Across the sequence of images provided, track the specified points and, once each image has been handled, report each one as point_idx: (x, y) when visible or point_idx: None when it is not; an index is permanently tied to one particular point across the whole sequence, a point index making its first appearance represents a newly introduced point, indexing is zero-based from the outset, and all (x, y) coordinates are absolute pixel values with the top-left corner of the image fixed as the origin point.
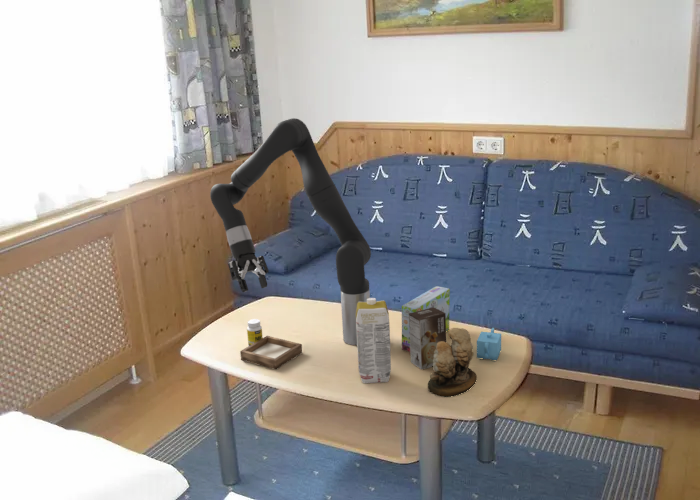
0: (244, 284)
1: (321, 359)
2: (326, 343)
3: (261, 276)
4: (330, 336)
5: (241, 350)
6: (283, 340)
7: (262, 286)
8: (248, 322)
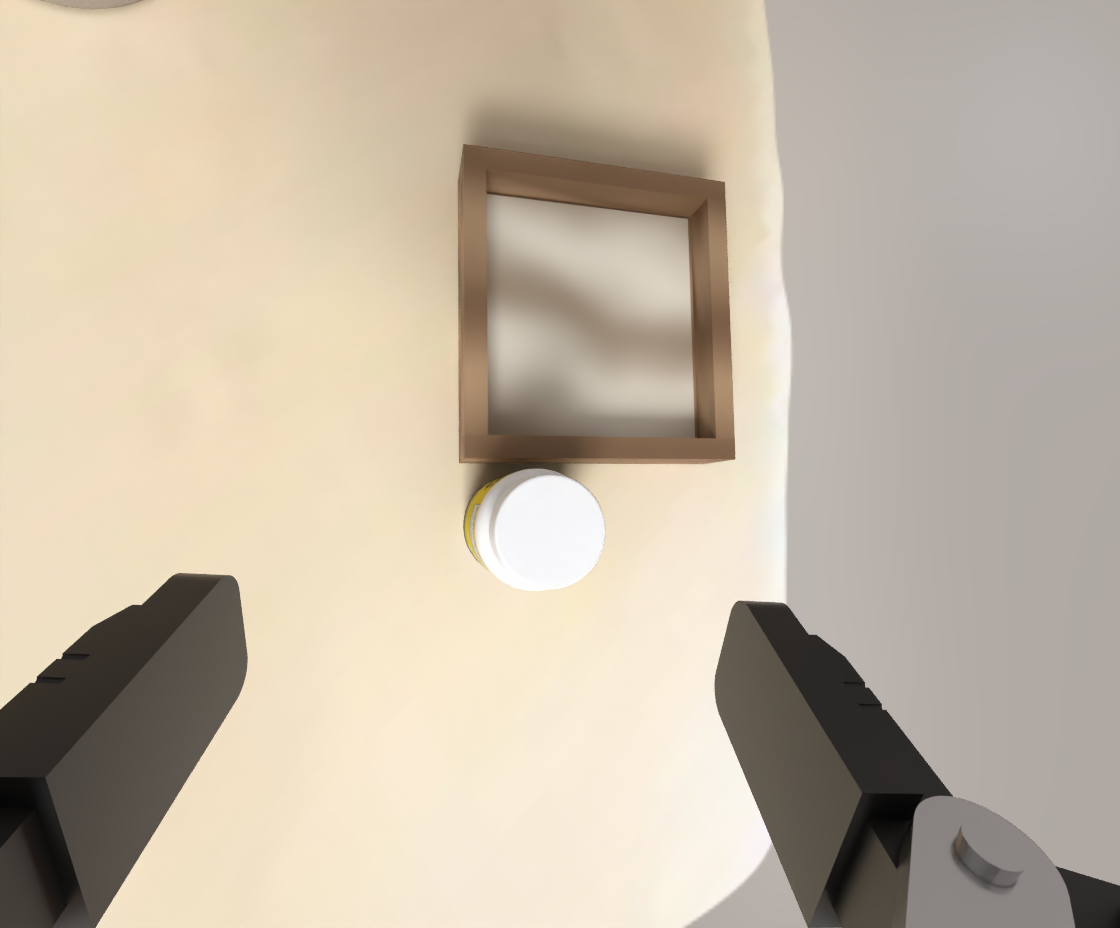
0: (839, 701)
1: (475, 32)
2: (252, 98)
3: (37, 842)
4: (121, 122)
5: (725, 458)
6: (476, 295)
7: (231, 666)
8: (594, 556)
